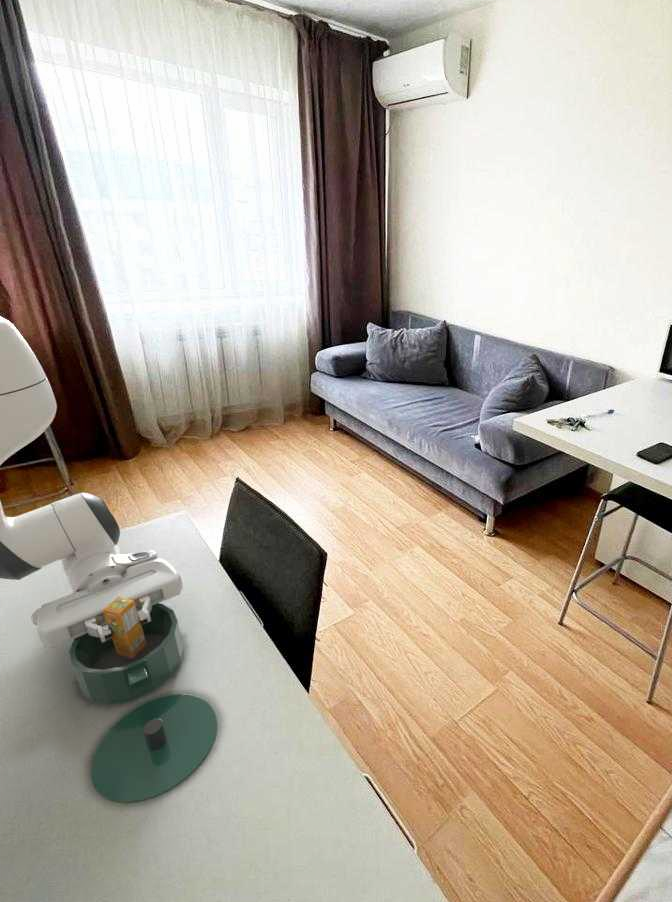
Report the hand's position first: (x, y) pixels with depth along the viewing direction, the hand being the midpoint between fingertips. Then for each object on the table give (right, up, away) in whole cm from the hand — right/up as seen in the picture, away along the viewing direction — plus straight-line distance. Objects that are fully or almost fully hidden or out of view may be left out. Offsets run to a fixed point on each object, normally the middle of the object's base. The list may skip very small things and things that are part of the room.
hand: (126, 628), depth 78 cm
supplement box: (-1, -5, +3) cm, 6 cm away
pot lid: (+9, -14, -8) cm, 18 cm away
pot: (-1, -8, +4) cm, 9 cm away
